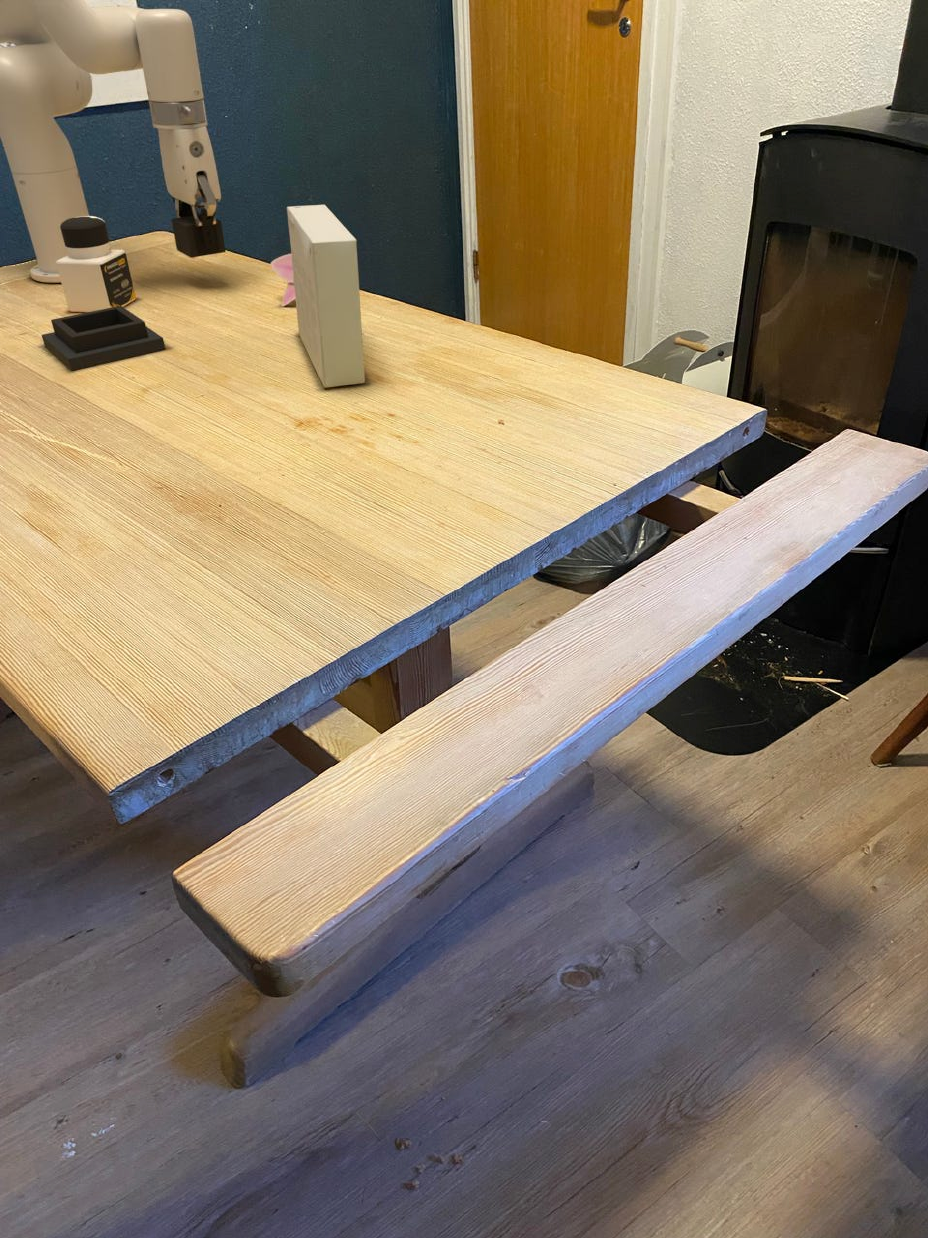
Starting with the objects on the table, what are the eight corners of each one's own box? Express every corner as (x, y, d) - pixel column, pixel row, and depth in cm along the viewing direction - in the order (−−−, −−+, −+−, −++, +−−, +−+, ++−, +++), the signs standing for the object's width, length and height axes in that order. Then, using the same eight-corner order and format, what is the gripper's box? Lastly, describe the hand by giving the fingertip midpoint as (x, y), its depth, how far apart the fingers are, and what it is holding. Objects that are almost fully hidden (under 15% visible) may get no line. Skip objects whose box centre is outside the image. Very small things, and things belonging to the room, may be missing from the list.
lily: (275, 301, 136) (247, 250, 128) (341, 259, 137) (317, 207, 128) (307, 346, 130) (280, 296, 122) (376, 302, 131) (354, 250, 122)
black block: (176, 249, 139) (171, 218, 136) (211, 244, 142) (206, 213, 139) (190, 257, 135) (185, 225, 133) (225, 251, 138) (221, 220, 135)
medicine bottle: (113, 313, 130) (90, 224, 123) (68, 312, 131) (43, 223, 124) (137, 299, 135) (117, 213, 128) (94, 297, 137) (72, 212, 130)
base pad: (44, 345, 119) (36, 319, 117) (133, 326, 124) (127, 300, 122) (71, 370, 111) (63, 342, 109) (165, 349, 116) (159, 321, 114)
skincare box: (370, 384, 104) (357, 238, 95) (324, 390, 103) (306, 243, 94) (338, 329, 121) (325, 201, 112) (298, 334, 120) (281, 204, 111)
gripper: (228, 118, 124) (247, 256, 134) (180, 105, 135) (201, 233, 146) (176, 123, 120) (199, 264, 131) (131, 109, 131) (156, 240, 142)
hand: (200, 247), depth 138 cm, fingers closed on black block, 5 cm apart
